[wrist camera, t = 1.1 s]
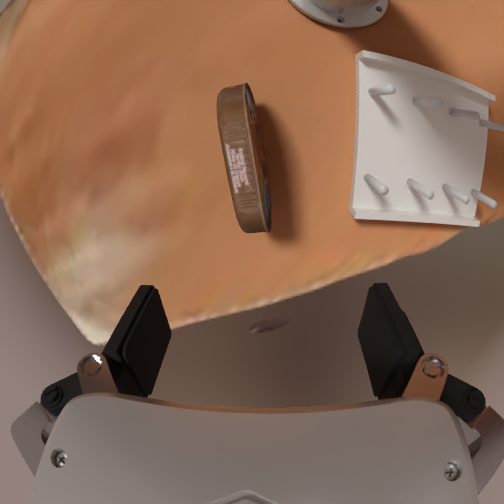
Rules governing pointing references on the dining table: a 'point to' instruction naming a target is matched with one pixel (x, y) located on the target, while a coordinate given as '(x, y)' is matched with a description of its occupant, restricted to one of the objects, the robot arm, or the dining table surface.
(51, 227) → the dining table surface
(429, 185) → the dish rack
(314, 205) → the dining table surface
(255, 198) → the tin
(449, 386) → the robot arm
